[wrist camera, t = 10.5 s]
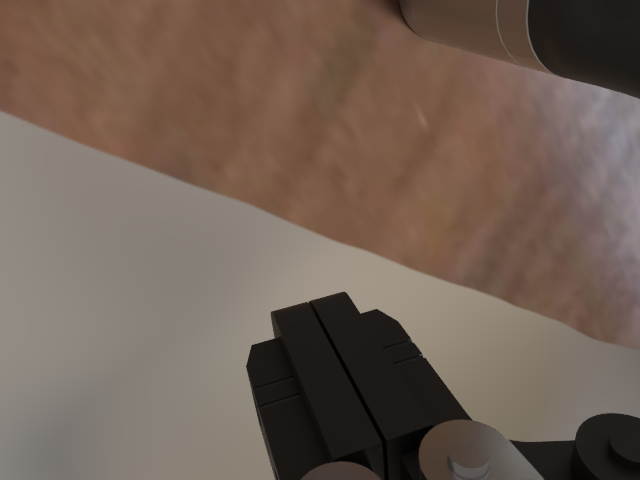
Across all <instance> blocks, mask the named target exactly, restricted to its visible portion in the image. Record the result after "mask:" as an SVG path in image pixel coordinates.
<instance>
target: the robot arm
mask: <svg viewBox="0 0 640 480" xmlns="http://www.w3.org/2000/svg"><path fill="white" fill-rule="evenodd" d="M399 3H400V7H401V11H402V14H403V17H404V18H405V20H406V22H407V24H408V25H409V27H410V28H411V29H412V30H413V31H414V32H415V33H416V34H418V35H419V36H421V37H422V38H424V39H427V40H430V41H433V42H436V43H440V44H444V45H447V46H450V47H454V48H457V49H461V50H465V51H468V52H472V53H475V54H479V55H483V56H486V57H490V58H494V59H497V60H501V61H504V62H508V63H512V64H515V65H519V66H523V67H526V68H531V69H534V70H538V71H542V72H545V73H549V74H553V75H556V76H560V77H563V78H567V79H571V80H575V81H580V82H584V83H588V84H592V85H596V86H600V87H603V88H607V89H610V90H614V91H617V92H621V93H624V94H627V95H630V96H633V97H636V98H639V99H640V0H399ZM271 319H272V325H273V331H274V337H275V339H272V340H268V341H265V342H261V343H258V344H255V345H252V346H251V350H250V354H249V358H248V362H247V366H246V367H247V372H248V377H249V381H250V385H251V389H252V394H253V398H254V403H255V407H256V411H257V416H258V420H259V425H260V428H261V431H262V435H263V439H264V442H265V445H266V449H267V452H268V456H269V459H270V463H271V466H272V470H273V473H274V477H275V480H640V418H637V417H633V416H630V415H624V414H615V413H608V414H600V415H596V416H593V417H591V418H589V419H587V420H586V421H584V422H583V423H582V424H581V426H580V427H579V429H578V431H577V433H576V438H575V440H574V441H548V442H519V441H512V440H509V439H507V438H506V437H505V436H504V435H503V434H502V433H500V432H499V431H497V430H496V429H494V428H492V427H490V426H489V425H486V424H483V423H480V422H477V421H473V420H472V419H471V418H470V417H469V416H468V414H467V413H466V412H465V411H464V409H463V408H462V407H461V405H460V404H459V402H458V401H457V400H456V398H455V397H454V396H453V394H452V393H451V392H450V390H449V389H448V388H447V386H446V385H445V384H444V382H443V381H442V380H441V378H440V377H439V376H438V374H437V373H436V372H435V370H434V369H433V368H432V366H431V365H430V364H429V362H428V361H427V360H426V358H423V355H422V353H421V352H420V350H419V349H418V348H417V346H416V345H415V344H414V343H412V341H411V338H410V337H409V336H408V334H407V333H406V332H405V330H404V329H403V328H402V326H401V325H400V324H399V322H398V321H396V320H395V319H393V318H391V317H390V316H388V315H386V314H385V313H383V312H381V311H379V310H378V309H375V310H372V311H368V312H365V313H361V314H360V312H359V311H358V310H357V308H356V306H355V305H354V303H353V302H352V300H351V299H350V297H349V296H348V294H347V293H346V292H341V293H337V294H333V295H330V296H326V297H323V298H320V299H315V300H312V301H309V303H307V302H305V303H301V304H298V305H294V306H291V307H287V308H283V309H280V310H276V311H272V312H271Z"/></svg>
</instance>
